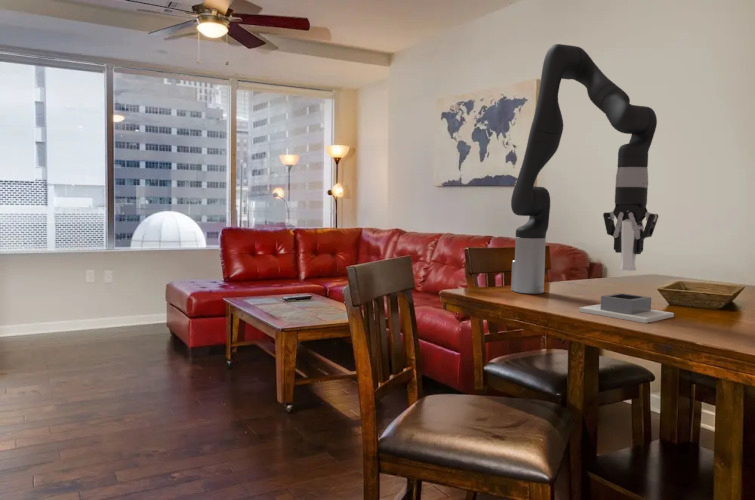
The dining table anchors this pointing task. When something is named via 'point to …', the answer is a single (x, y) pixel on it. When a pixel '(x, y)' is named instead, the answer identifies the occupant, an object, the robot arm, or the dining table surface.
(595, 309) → the stand board
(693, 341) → the dining table surface
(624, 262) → the perfume bottle
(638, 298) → the socket collar
